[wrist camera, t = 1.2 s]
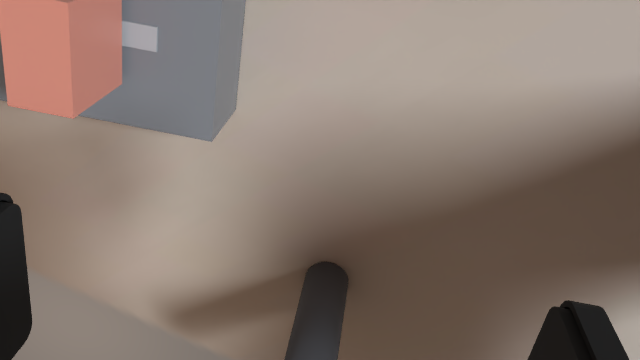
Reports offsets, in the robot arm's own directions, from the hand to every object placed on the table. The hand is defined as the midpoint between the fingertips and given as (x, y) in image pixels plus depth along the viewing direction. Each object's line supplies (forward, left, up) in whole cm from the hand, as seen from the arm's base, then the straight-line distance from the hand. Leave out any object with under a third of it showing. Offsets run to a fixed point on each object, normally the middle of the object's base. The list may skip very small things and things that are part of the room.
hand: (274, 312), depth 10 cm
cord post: (-1, +13, -18) cm, 23 cm away
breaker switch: (+10, 0, -14) cm, 17 cm away
